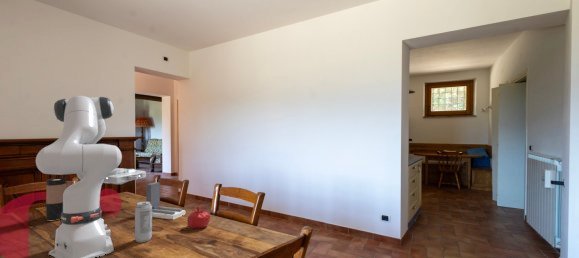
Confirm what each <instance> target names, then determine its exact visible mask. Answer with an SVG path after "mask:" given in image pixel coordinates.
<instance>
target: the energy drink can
mask: <svg viewBox="0 0 579 258" xmlns="http://www.w3.org/2000/svg"><path fill="white" fill-rule="evenodd" d="M152 235H153V217H152V205H151V204H150V202H148V201H139V202H137V203H136V205H135V207H134V240H135V241H136V243H140V244H141V243H146V242H149V241H151V238H152Z"/></svg>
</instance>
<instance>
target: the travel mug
mask: <svg viewBox="0 0 579 258" xmlns="http://www.w3.org/2000/svg"><path fill="white" fill-rule="evenodd" d="M66 188H67V177H59V178H57V179H54V178H49V179H46V190H45V191H46V194H45V196H46V198H45V199H46V200H45V204H46V205H45V206H46V207H45V208H46V221H47V220H56V219H60V218H61V214H62V212H63V193H64V191H65V189H66Z"/></svg>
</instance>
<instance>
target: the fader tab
mask: <svg viewBox="0 0 579 258" xmlns="http://www.w3.org/2000/svg"><path fill="white" fill-rule="evenodd" d="M160 187H161V184H160V182H157V181H155V182H151V183H147V184H146V192H145V193H146V194H145V195H146V198H145V199H146V201H148V202H150V204H151V205H152V209H157V210H158V209H159V206H161V205H160V204H161V203H160V201H161V198H160V197H161V196H160V195H161V194H160V193H161V191H160V190H161V188H160Z"/></svg>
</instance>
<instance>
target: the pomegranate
mask: <svg viewBox="0 0 579 258" xmlns="http://www.w3.org/2000/svg"><path fill="white" fill-rule="evenodd" d="M196 208H197V209H191V211H192V212H191V213H190V214H189V215H188V217H187V220H186V221H187V227H189V228H190V229H195V230H198V229H204V228H206V227H207V226H208V225H209V224H210V222H211V221H210V220H211V215H210V213H209V212H208V211H206V210H205V209H204V208H203V209H200V206H196Z"/></svg>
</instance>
